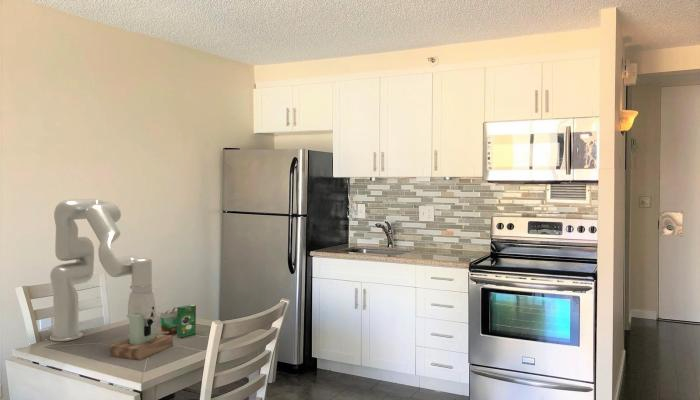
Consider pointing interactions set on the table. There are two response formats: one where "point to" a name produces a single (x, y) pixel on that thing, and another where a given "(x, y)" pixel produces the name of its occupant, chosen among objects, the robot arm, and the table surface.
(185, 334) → the coffee box
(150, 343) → the slotted block
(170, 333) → the food container
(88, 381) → the table surface
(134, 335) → the pale green upright block
